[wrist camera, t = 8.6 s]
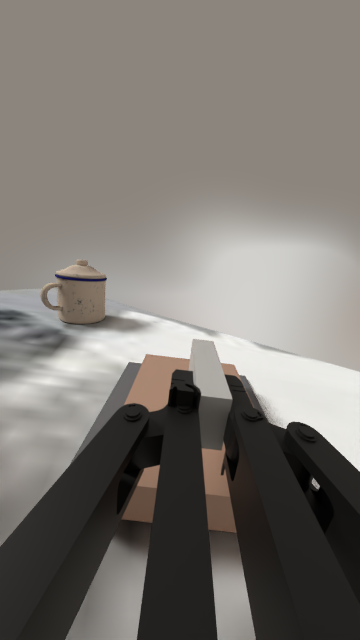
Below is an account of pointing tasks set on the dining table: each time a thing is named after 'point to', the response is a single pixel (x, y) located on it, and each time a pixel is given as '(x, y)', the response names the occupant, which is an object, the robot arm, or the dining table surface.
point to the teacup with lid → (78, 294)
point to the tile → (154, 396)
